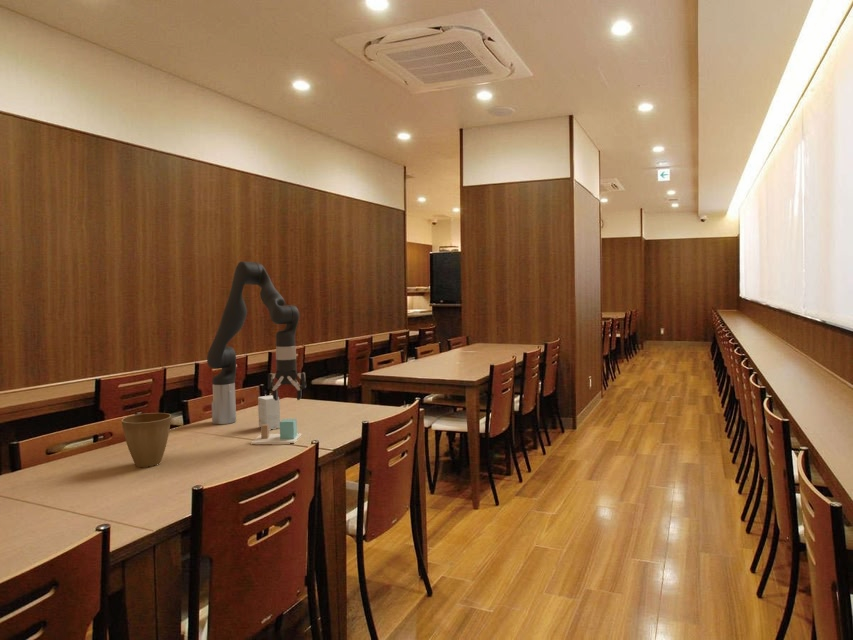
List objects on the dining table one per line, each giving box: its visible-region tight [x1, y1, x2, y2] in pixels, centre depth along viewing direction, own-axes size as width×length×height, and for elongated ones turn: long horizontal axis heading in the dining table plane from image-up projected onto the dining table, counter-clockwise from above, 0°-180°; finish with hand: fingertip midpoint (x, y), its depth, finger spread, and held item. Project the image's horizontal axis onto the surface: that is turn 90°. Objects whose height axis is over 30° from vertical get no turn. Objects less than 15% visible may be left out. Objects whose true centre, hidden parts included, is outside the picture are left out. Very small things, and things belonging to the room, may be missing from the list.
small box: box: [257, 394, 281, 431], centre depth 237 cm, size 8×6×13 cm
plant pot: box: [121, 412, 172, 468], centre depth 189 cm, size 15×15×16 cm
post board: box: [251, 424, 302, 445], centre depth 217 cm, size 16×12×6 cm
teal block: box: [279, 418, 298, 439], centre depth 217 cm, size 5×5×7 cm
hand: (287, 400), depth 216 cm, fingers open, 8 cm apart
